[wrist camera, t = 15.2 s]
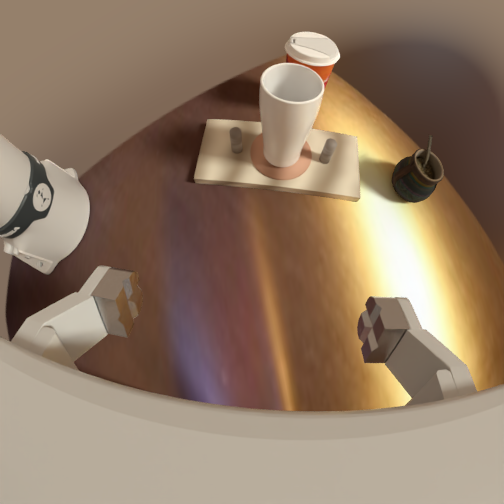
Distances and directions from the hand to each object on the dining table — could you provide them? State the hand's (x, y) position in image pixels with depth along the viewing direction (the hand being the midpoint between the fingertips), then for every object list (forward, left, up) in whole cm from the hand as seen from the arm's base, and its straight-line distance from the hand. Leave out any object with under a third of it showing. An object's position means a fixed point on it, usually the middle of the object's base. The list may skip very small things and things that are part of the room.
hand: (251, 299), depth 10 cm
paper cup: (+5, +34, -28) cm, 44 cm away
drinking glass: (+2, +22, -26) cm, 34 cm away
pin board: (+2, +22, -28) cm, 36 cm away
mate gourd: (+23, +21, -28) cm, 42 cm away
